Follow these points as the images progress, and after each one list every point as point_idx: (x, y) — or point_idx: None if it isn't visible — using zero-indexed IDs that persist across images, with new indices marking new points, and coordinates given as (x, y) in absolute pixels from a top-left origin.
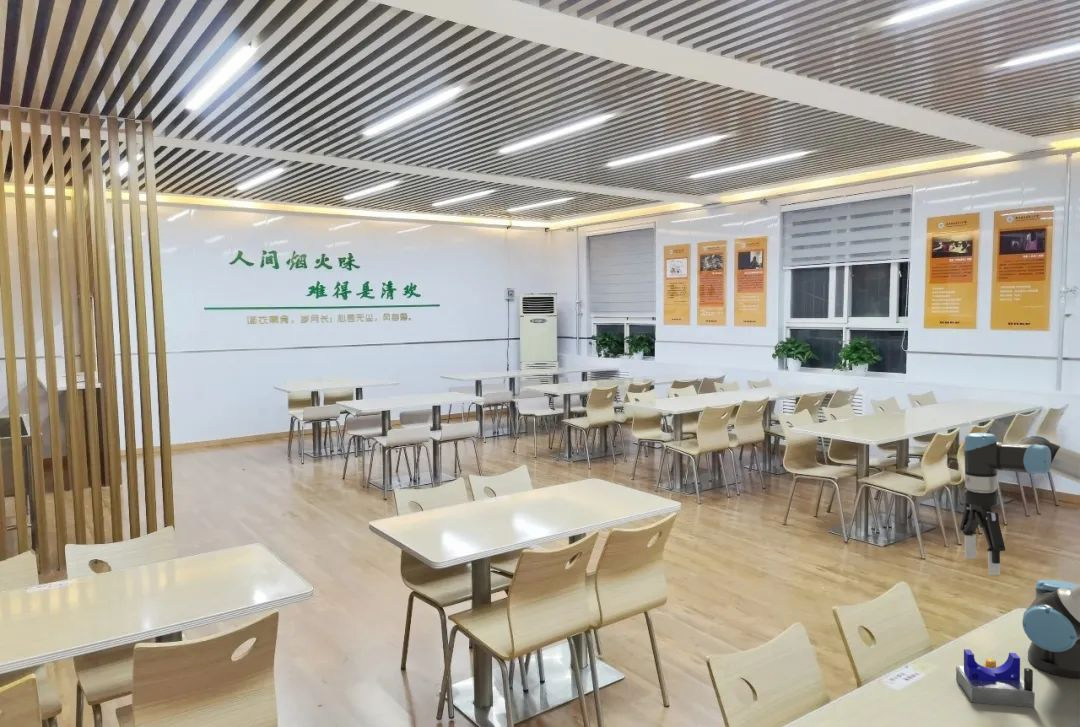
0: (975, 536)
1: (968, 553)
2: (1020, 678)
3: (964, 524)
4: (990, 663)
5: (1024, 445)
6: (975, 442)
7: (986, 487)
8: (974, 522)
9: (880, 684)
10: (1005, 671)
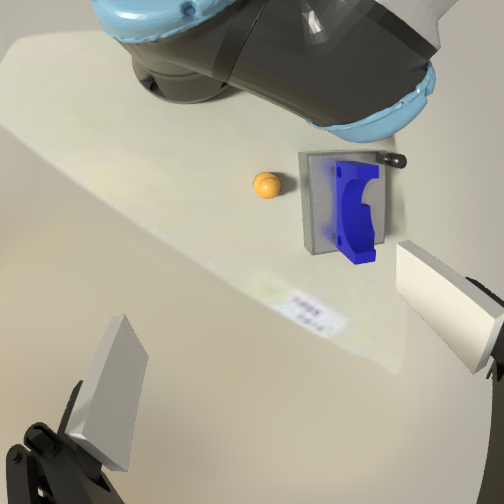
0: (83, 430)
1: (138, 367)
2: (345, 156)
3: None
4: (278, 190)
5: None
6: None
7: None
8: None
9: (336, 338)
10: (363, 187)
